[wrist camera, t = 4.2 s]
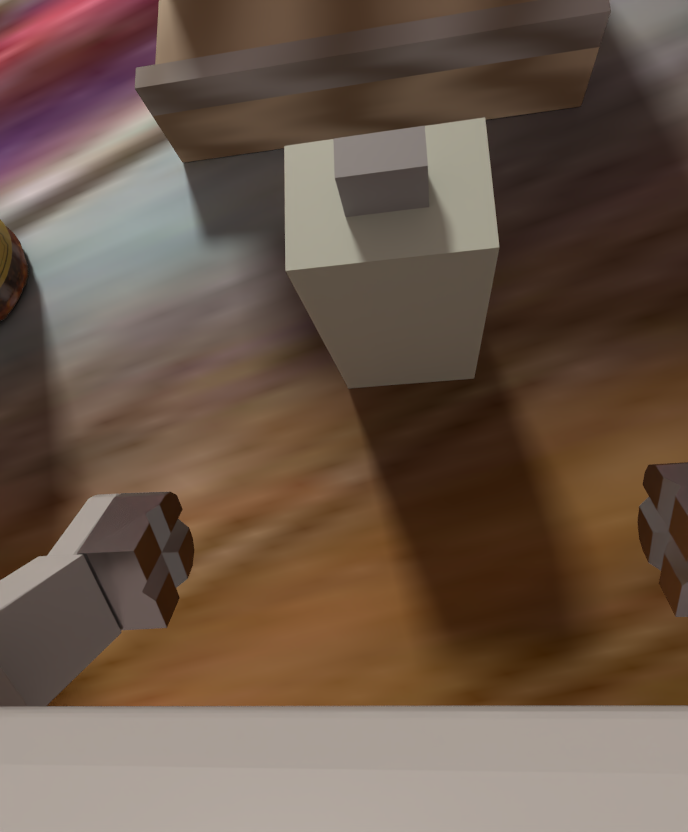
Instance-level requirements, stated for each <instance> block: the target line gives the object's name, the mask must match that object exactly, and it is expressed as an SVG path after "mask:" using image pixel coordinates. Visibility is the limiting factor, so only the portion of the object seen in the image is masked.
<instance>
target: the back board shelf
mask: <svg viewBox="0 0 688 832" xmlns="http://www.w3.org/2000/svg"><path fill="white" fill-rule="evenodd" d="M610 12H611V9H610V4H609V0H159V11H158V29H157V47H156V64H155V65H150V66H144V67H138V68H136V77H135V90H136V91H137V93H138V94H139V96H140V97H141V99H142V100H143V102H144V104H145V105H146V107H147V108H148V110H149V111H150V113H151V114H152V116H153V117H154V119H155V121H156V122H157V124H158V125H159V127H160V128H161V130H162V131H163V133H164V134H165V136H166V138H167V139H168V141H169V142H170V144H171V145H172V147H173V148H174V150H175V152H176V153H177V155H178V156H179V158H180V159H181V161H182V162H190V161H197V160H205V159H212V158H219V157H226V156H233V155H240V154H247V153H254V152H261V151H268V150H275V149H282V148H284V146H288V145H295V144H302V143H309V142H316V141H323V140H330V139H334V138H341V137H348V136H355V135H362V134H369V133H376V132H383V131H390V130H397V129H404V128H411V127H418V126H428V125H435V124H442V123H449V122H456V121H463V120H470V119H477V118H484V117H485V120H488V119H495V118H502V117H509V116H516V115H523V114H530V113H537V112H544V111H551V110H559V109H566V108H573V107H580V106H581V105H582V101H583V98H584V95H585V92H586V89H587V85H588V82H589V79H590V76H591V73H592V69H593V66H594V63H595V60H596V57H597V54H598V50H599V47H600V44H601V41H602V38H603V34H604V31H605V28H606V25H607V22H608V18H609V15H610Z"/></svg>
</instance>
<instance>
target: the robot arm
mask: <svg viewBox="0 0 688 832" xmlns="http://www.w3.org/2000/svg"><path fill="white" fill-rule="evenodd" d="M643 486H644V488H645V490H646V492H647V494H648V495H649V497H648V498H647V499H646V500H645V501H644V502H643V503H642V504H641V505H640V506H639V513H638V532H639V540H640V543H641V546H642V550H643V552H644V554H645V556H646V558H647V561H648V562H649V563H650V564H652V565H653V566H655V567H656V568H658V569H659V570H661V574H660V579H659V585H660V587H661V589H662V591H663V593H664V595H665V597H666V599H667V601H668V603H669V605H670V607H671V609H672V611H673V613H674V615H675V617H688V462H684V463H668V464H652V465H648V467H647V469H646V471H645V474H644V480H643ZM181 511H182V507H181V504H180V502H179V499H178V497H177V495H176V494H174V493H172V492H149V493H122V494H103V495H95V496H93V497H91V498H89V499H88V500H87V502H86V503H85V505H84V506H83V507H82V509H81V510H80V511H79V513H78V514H77V515H76V517H75V518H74V520H73V521H72V522H71V524H70V525H69V526H68V528H67V529H66V530H65V532H64V533H63V535H62V536H61V537H60V539H59V540H58V541H57V543H56V544H55V546H54V547H53V548H52V550H51V551H50V552H49V554H48V555H47V556H39V557H37V558H35V559H34V560H32V561H31V562H29V563H27V564H26V565H24V566H22V567H21V568H19V569H18V570H16V571H14V572H13V573H11V574H10V575H8V576H6V577H5V578H3V579H2V580H0V832H688V706H47V705H48V704H49V703H50V702H51V701H52V700H53V699H54V698H55V697H56V696H57V695H58V694H59V693H60V692H61V691H62V690H63V689H64V688H65V687H66V686H67V685H68V684H69V683H70V682H71V681H72V680H73V679H74V678H75V677H76V676H77V675H78V674H80V673H81V672H82V671H83V670H84V669H85V668H86V667H87V666H88V665H89V664H90V663H91V662H92V661H93V660H94V659H95V658H96V657H97V656H98V655H99V654H100V653H101V652H102V651H103V650H104V649H105V648H106V647H107V646H108V645H109V644H110V643H111V642H112V641H113V640H114V639H116V638H117V637H118V636H119V635H120V634H121V630H134V629H153V628H167V626H168V624H169V622H170V619H171V617H172V615H173V612H174V610H175V608H176V605H177V603H178V600H179V598H180V597H179V595H178V592H177V589H176V588H177V587H178V586H179V585H180V584H181V583H183V582H184V581H185V580H186V579H188V576H189V574H190V571H191V569H192V566H193V558H194V544H193V537H192V535H191V532H190V529H189V527H188V526H186V525H185V524H184V523H183V522H181V521H180V520H179V519H178V518H179V516H180V513H181Z"/></svg>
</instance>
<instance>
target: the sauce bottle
mask: <svg viewBox="0 0 688 832" xmlns="http://www.w3.org/2000/svg"><path fill="white" fill-rule="evenodd" d="M27 278H28V265H27V261H26V259H25V256H24V252H23V249H22V247H21V243H20V242H19V240H18V239H17V237H16V236H15V234H14V233H13V232H12V231H11V230H10V229H9V228H7V227H6V226H5V225H4V223H3V222H2V221H1V220H0V321H2V320H4V319H6V317H7V316H8V314H9V312H11V311H12V309H13V308H14V306H15V304H16V302H17V301H18V300H19V298H20V295H21V293H22V289H23V287H24V286H25V285H26V282H27Z"/></svg>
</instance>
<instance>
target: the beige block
mask: <svg viewBox="0 0 688 832" xmlns="http://www.w3.org/2000/svg"><path fill="white" fill-rule="evenodd" d="M284 174H285V271H286V273H287V275H288V277H289V278H290V280H291V282H292V284H293V286H294V288H295V290H296V292H297V293H298V295H299V297H300V299H301V301H302V303H303V305H304V307H305V308H306V310H307V312H308V314H309V316H310V318H311V320H312V322H313V323H314V325H315V327H316V329H317V331H318V333H319V335H320V336H321V338H322V340H323V342H324V344H325V346H326V348H327V350H328V351H329V353H330V355H331V357H332V359H333V361H334V363H335V365H336V366H337V368H338V370H339V372H340V374H341V376H342V378H343V379H344V381H345V383H346V385H347V387H348V388H361V387H374V386H386V385H399V384H412V383H424V382H437V381H450V380H463V379H474V377H475V372H476V366H477V361H478V356H479V351H480V346H481V341H482V335H483V330H484V325H485V320H486V315H487V309H488V304H489V299H490V294H491V289H492V284H493V278H494V273H495V268H496V263H497V258H498V253H499V238H498V229H497V220H496V211H495V202H494V193H493V184H492V175H491V166H490V157H489V148H488V139H487V130H486V121H485V117H484V118H477V119H470V120H463V121H456V122H449V123H442V124H435V125H428V126H418V127H411V128H404V129H397V130H390V131H383V132H376V133H369V134H362V135H355V136H348V137H341V138H334V139H330V140H323V141H316V142H309V143H302V144H295V145H288V146H284Z"/></svg>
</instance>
